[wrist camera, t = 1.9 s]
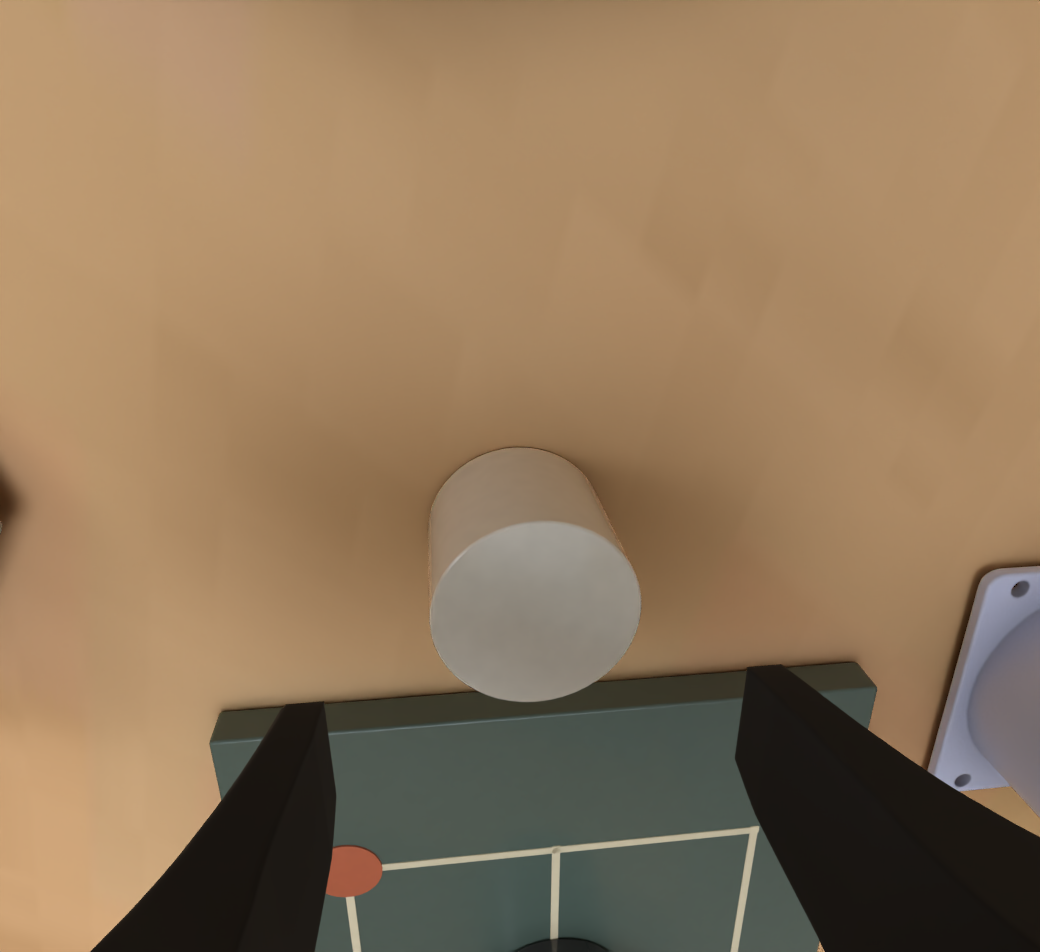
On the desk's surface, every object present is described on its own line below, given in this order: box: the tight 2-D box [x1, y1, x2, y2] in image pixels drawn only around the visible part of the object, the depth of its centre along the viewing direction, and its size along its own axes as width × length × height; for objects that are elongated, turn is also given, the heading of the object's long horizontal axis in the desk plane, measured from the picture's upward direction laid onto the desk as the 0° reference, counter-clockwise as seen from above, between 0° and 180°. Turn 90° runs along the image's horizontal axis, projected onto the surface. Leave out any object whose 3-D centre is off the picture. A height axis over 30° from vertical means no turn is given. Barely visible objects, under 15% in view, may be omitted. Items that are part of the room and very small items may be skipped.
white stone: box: [428, 448, 641, 702], centre depth 18 cm, size 4×4×4 cm
